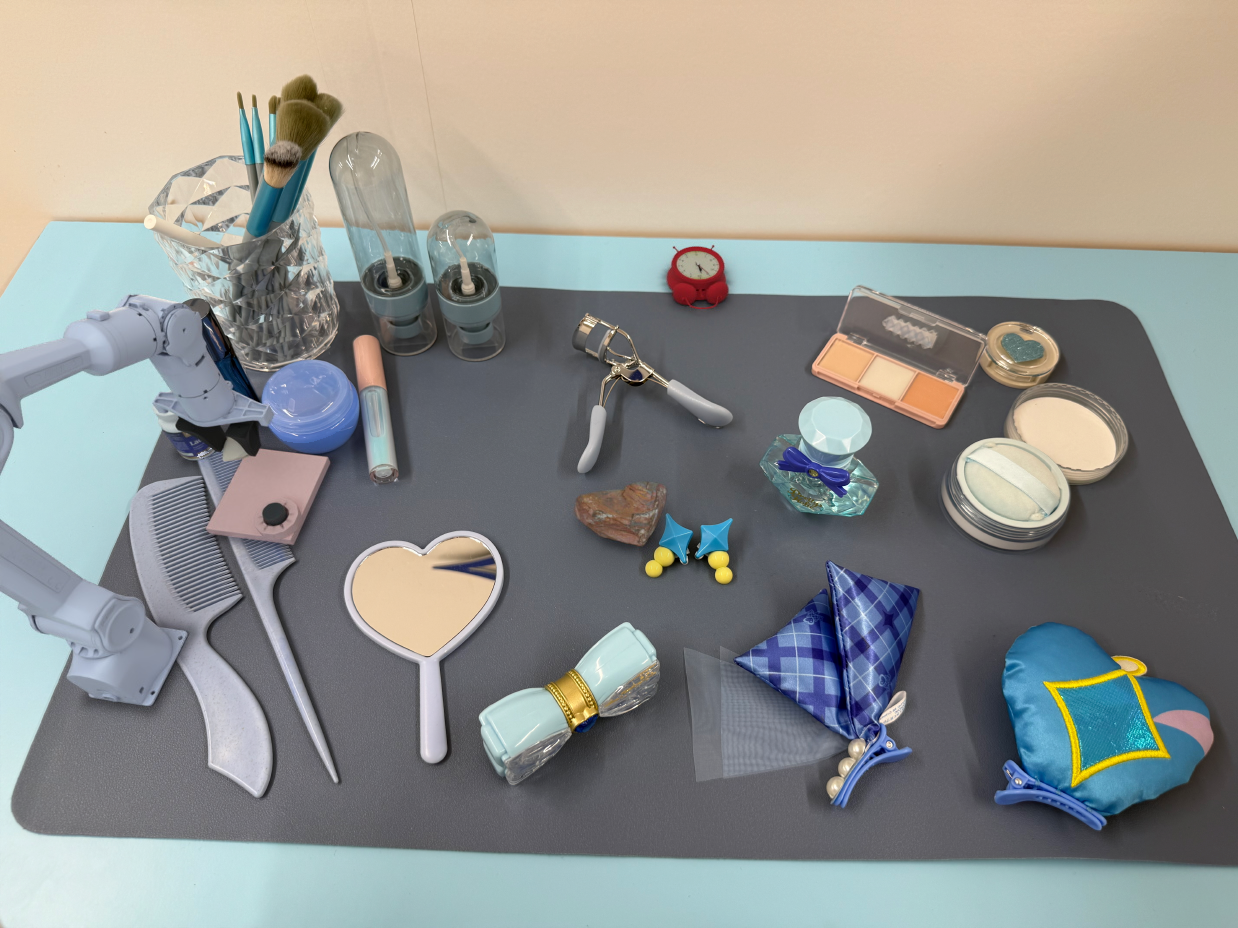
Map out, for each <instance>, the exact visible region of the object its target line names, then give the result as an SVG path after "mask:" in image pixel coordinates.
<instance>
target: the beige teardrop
mask: <svg viewBox="0 0 1238 928" xmlns="http://www.w3.org/2000/svg"><path fill="white" fill-rule="evenodd" d="M226 438H227V440H226V442H225V444H224V448H223V450H222V461H223V462H225V463H226V462H231V461H233V462H234V461H239V460H243V459H244V458H247V457H250V455H248V454H247V453H246V452H245V450H244V449H243V448H242V446H241V445H240V444H239V443H238V442H236V441H235V440H234V439H232V438H230V437H228V436H227V437H226Z"/></svg>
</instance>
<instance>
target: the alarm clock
mask: <svg viewBox="0 0 1238 928" xmlns="http://www.w3.org/2000/svg"><path fill="white" fill-rule="evenodd" d="M713 248H715V245H714V244H712V245H711V248H709V247H706V246H700V245H695V246H694V245H693V246H687V247H685V248H682V249H680V250H679V249H677V248H676V246H675V245H673V246H672V249H674V250H675V251H676V253H675V254H674V255H673V257H672V258H671V262H670V264H671V265H670V267H669V268H668V271H667V273H666V284H667V286H668V287H669V288H670V290H671V291H672V297H673V299H674V301H675V302H676V303H677V304H680V305H682V306H689V307H690V308H692V309H695V310H709V309H713V308H715V307H717V305H718V304H720V303H721V302H723V301H724V300H726V298H727V296H728V295H729V286H728V284H727V283H726V282H727V278H726V274H725V268H726V267H725V261H724V259H723V257H722V256H721V255H720V254H719V253H718V252H717V251H715V250H714V249H713ZM705 300H706V301H707V302H708V303H709V304H711V306H708V307H697V306H693V305H692V304H694V303H695V301H705ZM712 304H713V305H712Z"/></svg>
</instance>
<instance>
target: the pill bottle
mask: <svg viewBox="0 0 1238 928" xmlns="http://www.w3.org/2000/svg"><path fill="white" fill-rule="evenodd" d="M168 392H172V391H171V390H170V391H168ZM152 411H153V412H154V414H155V416H156V418H157V422H158V425H159V427H160V429H161V430H162V431H163V433H164V434H165V436H166V437H167V438H168V440H169V441H170V442H171V444H172V445H173V447H174V448H175V449H176V451H177V452H178V454H179V455H180V456H181V457H182V458H184V459H186V460H188V461H200V460H204V459H206V458H209V457H210V456H212V455H213V454H214V453H215V452H216V451H215V450H213V449H212V450H211V451H210V452H209V453H207V454H205V455H203V456H200V457H201V459H200V458H199V457H197V456H198V454H200V453H201V452H204V451H208V450H209V449H210V447H209V446H208V445H206V444H205V443H203V442H202V441H201V440H199V439H197V438H196V437H194V436H192V435H190V434H187V433H185V432H182V431H178V430H177V428H176V427H175V424H176V422H177V421H178V419H179V418H178V416H177V415H175V414H173V413H172V412H170V411H168V413H166V414H164V413H159V412H158V411H157V409H156V408H155V407H154V405H153V404H152ZM202 457H203V458H204V459H203V458H202Z"/></svg>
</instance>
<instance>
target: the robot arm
mask: <svg viewBox="0 0 1238 928" xmlns="http://www.w3.org/2000/svg"><path fill="white" fill-rule="evenodd" d="M85 315H86V317H85V318H81V319H78V320H75V321H73V322H70V323H69V324H68V325H67V326H66V328H65V330H64V332H63V335H62V338H58V339H54V340H50V341H47V342H42V343H38V344H34V345H30V346H26V347H23V348H18V349H14V350H10V351H7V352H2V353H0V476H1V475H2V473H3V471H4V469H5V465H6V463H7V461H8V459H9V456H10V454H11V452H12V448H13V446H14V445H13V444H14V441H15V430H14V429H18V430H21V429H22V428H23V427H24V424H25V423H24V416H23V410H22V403H21V401H22V400H24V399H25V398H26V397H27V398H28V397H29V396H31V395H33V394H35V393H38V392H40V391H42V390H45V389H47V388H49V387H51V386H53V385H55V384H58V383H61V382H62V381H65V380H67V379H69V378H71V377H73V376H75V375H77V374H79V373H81V372H84V373H86V374H88V375H89V376H90V375H91V376H95V377H104V376H107V375H109V374H112V373H114V372H117V371H120V370H122V369H125V368H127V367H130V366H132V365H133V366H134V365H135V364H138V363H140V362H143V361H147V359H148V360H149V361H150V363H151V364H152V366H153V367H154V369H155V370H156V371H157V372H158V374H159V375H160V377H161V378H162V380H163V381H164V383H165V384H166V386H167V387H168V388H169V390H170V391H172V392H169V391H159V392H158V393H157V395H156V396H155V398H154V399H153V401H152V406H153V405H154V407H155V408H156V409H157V411H158V412H159V413H164V414H166V413H168V411H170V412H172V413H173V414H175V415H177V416H178V418H179V419H178V421H177V422H176V424H175V427H176V428H177V430H178V431H182V432H185V433H187V434H190V435H192V436H194V437H196V438H197V439H199V440H201V441H202V442H203V443H205V444H206V445H208V446H209V447H210V448H212V449H213V450H215V452H216V453H222V452H223V448H224V444H225V442H226V440H227V438H228V437H230V438H232V439H234V440H235V441H236V442H238V443H239V444H240V445H241V446H242V448H243V449H244V450H245V452H246V453H247V454H248V455H250V456H253V457H255V456H256V455H257V453H258V451H259V449H261V447H262V443H261V437H260V429H259V428H260V427H259V425H260V426H261V427H269V426H270V424H271V422H272V421H273V418H274V417H275V413H274V411H273V409H272V407H271V406H270V404H265V403H261V402H258V401H256V400H254V399H252V398H250V397H248V396H245V395H244V394H242V393H240V392H237V391H235V390H233V388H234V385H233V383H232V381H230V380H225V379H224V376H223V375H222V372H221V371H220V370H219V368H218V366H217V364H216V363H215V361H214V360H213V358H212V357H211V354H210V353H209V352H208V351H209V350H207V342H206V341H205V339H204V336H203V321H202V317H201V314H200V312H199V311H193V310H192V308H191V307H190V306H188V305H187V304H185V303H182V302H178V301H173V300H169V299H164V298H159V297H155V296H151V295H147V294H138V293H134V294H130V293H128V294H126V295H125V296H124V297H123V298H121V299H120V300H119V302H118V304H117V306H116V307H114V309H111V310H109V311H106V310H100V309H91V310H89V311H86V313H85ZM222 425H223V426H224V425H228V427H227V428H226V430H225V431H224V429H223V428H222ZM0 593H2V594H4V595H5V596H7V597H9V598H11V599H12V600H14V601H15V602H17V603H18V605H17V610H18V611H21V612H22V613H23V614H25V616H26V617H27V619H28V622H29V625H30V627H31V628H32V630H34V632H37V633H38V634H43V635H47V636H49V635H50V636H53V637H56V638H60V639H61V640H62V639H63V640H65V641H66V643H67V645H68V646H69V647H70V649H71V650H72V661H71V663H70V668H69V670H68V672H67V674H66V679H67V680H68V681H69V682H70V683H71V684H73V685H75V686H76V687H78V688H80V689H81V690H83V691H84V692H86V693H88V696H89V697H90V698H92V699H97V700H98V699H99V700H103V701H104V700H105V701H110V702H114V703H115V702H116V703H117V702H118V703H123V704H129V705H130V704H131V705H137V706H145V707H151V706H152V705H154V703H155V701H156V699H157V698H158V696H159V694H160V692H161V689H162V687H163V685H164V683H165V681H166V680H167V678H168V675H169V674H170V671H171V670H172V668H173V666H174V664H175V661H176V659H177V657H178V656H179V653H180V651H181V650H182V647H183V646H184V643H185V641H186V640H187V637H188V635H189V634H188V632H187V631H186V630H183V629H175V628H168V627H160V626H158V625H157V624H156V623H154V622H153V621H152V620H151V619H150V617H149V618H148V616H147V614H146V613H147V612H146V607H145V604H144V603H143V601H142V600H141V599H140V598H137V597H135V596H127V595H126V596H125V595H123V594H119V593H116V592H114V591H112V590H111V589H107V588H105V587H103V586H101V585H98V584H96V583H94V582H91V581H89V580H87V579H85V578H83V577H82V576H80V575H79V574H77V573H76V572H75V571H73V570H72V569H71V568H69V567H68V566H66V565H65V564H63V563H62V562H60V561H59V560H58V559H57V558H55V557H53V556H52V555H51V554H49V553H48V552H47V551H45V550H44V549H43V548H41V547H40V546H38V545H37V544H36V543H34V542H33V541H32V540H30V538H29V539H28V538H27V537H26V536H25V535H23V534H22V533H20V532H19V531H17V530H16V529H15V528H13V527H12V526H11V525H9V524H8V523H6V522H5V521H4V520H2V519H0Z"/></svg>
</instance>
